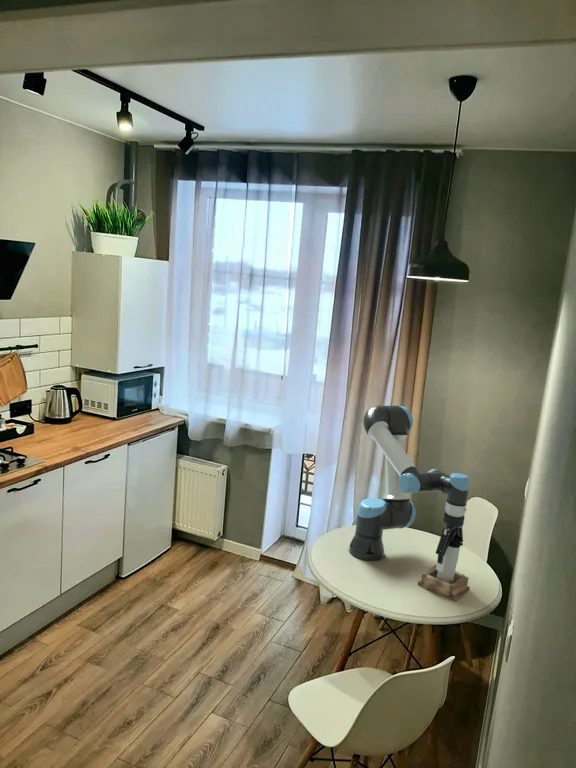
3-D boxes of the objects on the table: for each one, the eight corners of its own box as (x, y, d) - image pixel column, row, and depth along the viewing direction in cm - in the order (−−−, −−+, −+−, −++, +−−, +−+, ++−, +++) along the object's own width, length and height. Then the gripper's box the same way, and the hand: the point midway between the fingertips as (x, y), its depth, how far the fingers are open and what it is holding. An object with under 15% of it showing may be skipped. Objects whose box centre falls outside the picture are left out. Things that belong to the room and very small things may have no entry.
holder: (417, 585, 224) (418, 573, 223) (432, 574, 235) (434, 562, 234) (455, 601, 214) (457, 589, 213) (470, 589, 225) (472, 577, 224)
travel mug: (453, 589, 221) (463, 541, 218) (436, 585, 222) (446, 537, 219) (452, 582, 227) (461, 535, 224) (435, 578, 228) (444, 531, 225)
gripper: (450, 524, 208) (442, 578, 211) (476, 509, 228) (468, 559, 231) (431, 518, 213) (423, 571, 216) (458, 504, 232) (451, 553, 235)
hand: (446, 565), depth 223 cm, fingers open, 13 cm apart
